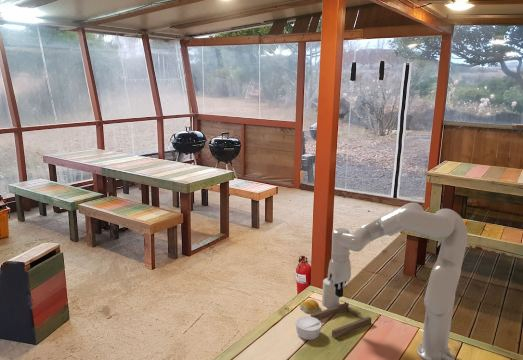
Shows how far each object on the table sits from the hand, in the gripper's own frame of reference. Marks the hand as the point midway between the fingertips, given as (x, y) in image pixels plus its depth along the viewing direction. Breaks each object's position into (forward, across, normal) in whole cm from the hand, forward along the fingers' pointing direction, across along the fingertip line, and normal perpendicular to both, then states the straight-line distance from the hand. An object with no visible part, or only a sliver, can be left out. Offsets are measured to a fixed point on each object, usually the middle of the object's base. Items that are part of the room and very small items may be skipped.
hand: (339, 295), depth 188 cm
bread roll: (+14, +2, -18) cm, 23 cm away
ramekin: (+14, +16, -1) cm, 21 cm away
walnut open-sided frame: (+14, -2, -1) cm, 14 cm away
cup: (+14, -10, -16) cm, 23 cm away
